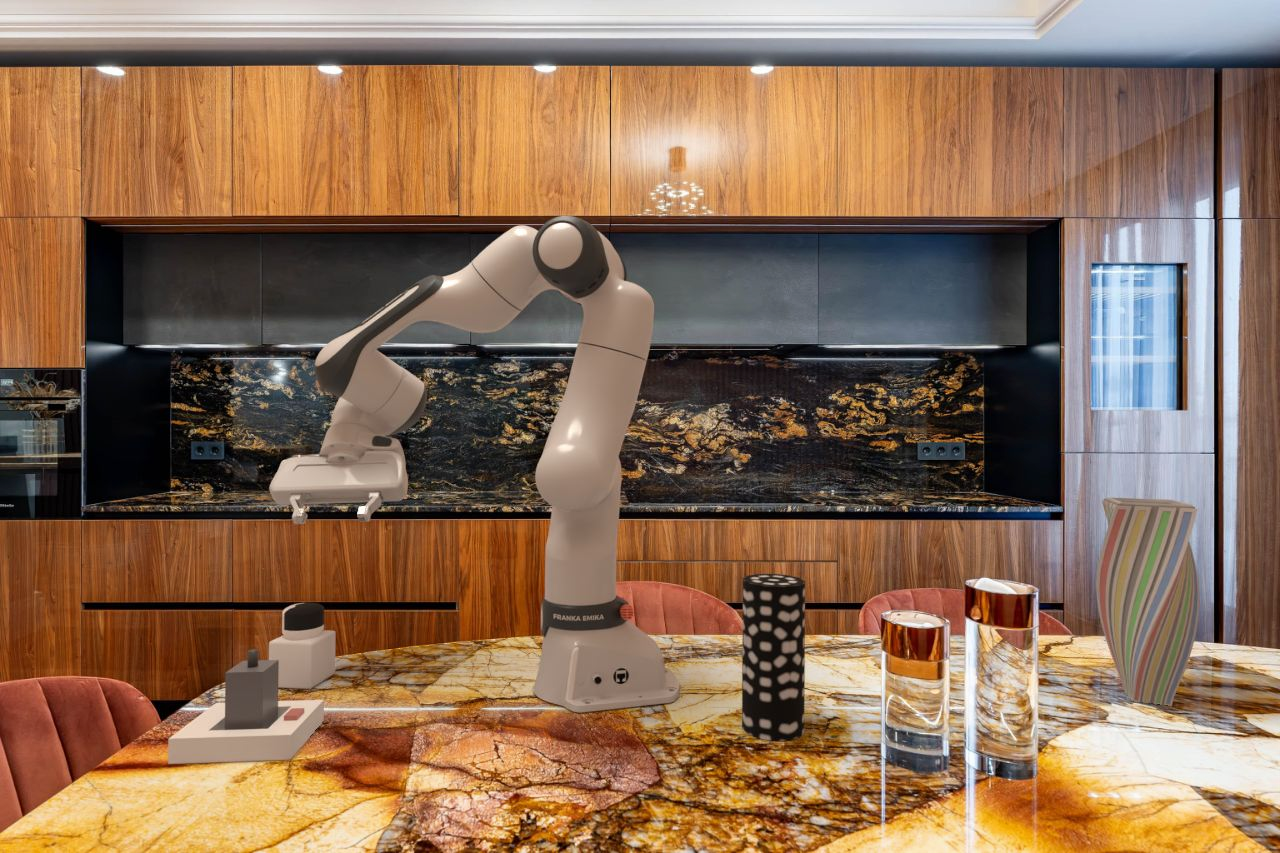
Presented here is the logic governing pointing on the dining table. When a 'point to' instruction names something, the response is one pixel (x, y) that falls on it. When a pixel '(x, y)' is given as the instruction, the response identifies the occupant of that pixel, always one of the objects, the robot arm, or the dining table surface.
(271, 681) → the plug
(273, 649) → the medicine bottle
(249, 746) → the socket
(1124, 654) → the vase
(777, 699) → the white-spotted black cylinder
